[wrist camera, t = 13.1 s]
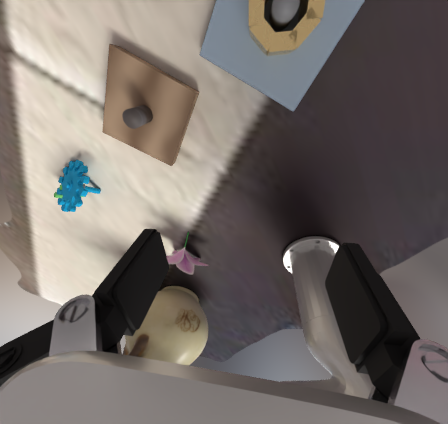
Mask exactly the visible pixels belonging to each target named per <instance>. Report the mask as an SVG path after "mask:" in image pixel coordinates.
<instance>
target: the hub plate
mask: <svg viewBox="0 0 448 424" xmlns="http://www.w3.org/2000/svg"><path fill="white" fill-rule="evenodd" d="M364 1H365V0H325V6H324V12H323V18H321V19H320V20H321V21H320V23H319V24H318V25H317V26H316V27H315V28H314V30H313V31H312V32H311V33H310V34H309V36H308V37H307V38H306V39H305V40H304V41H303V43H302V44H301V45H300V46H299V47H298V48H297V49H296V50H294V51H293V52H291V53H289V54H284V55H273V56H267V54H266V55H265V54H264V53H263V52H262V51H261V50H260V48H259V47H258V46H257V45H256V43H255V42H254V41H253V40H252V38H251V37H250V32H249V0H216V3H215V6H214V10H213V13H212V16H211V19H210V23H209V26H208V29H207V32H206V36H205V39H204V42H203V45H202V48H201V52H200V56H202V57H203V58H205V59H207V60H208V61H210V62H212V63H213V64H215V65H217V66H218V67H220V68H222V69H223V70H225V71H227V72H228V73H230V74H232V75H233V76H235V77H237V78H238V79H240V80H242V81H243V82H245V83H247V84H248V85H250V86H251V87H253V88H255V89H256V90H258V91H260V92H261V93H263V94H265V95H266V96H268V97H270V98H271V99H273V100H275V101H276V102H278V103H280V104H281V105H283V106H285V107H286V108H288V109H290V110H291V111H293V112H294V110H295V109H296V107H297V105H298V104H299V102H300V101H301V99H302V98H303V96H304V95H305V93H306V91H307V90H308V88H309V87H310V85H311V84H312V82H313V80H314V79H315V77H316V76H317V74H318V73H319V71H320V70H321V68H322V66H323V65H324V63H325V62H326V60H327V59H328V57H329V55H330V54H331V52H332V51H333V49H334V48H335V46H336V45H337V43H338V41H339V40H340V38H341V37H342V35H343V34H344V32H345V30H346V29H347V27H348V26H349V24H350V23H351V21H352V19H353V18H354V16H355V15H356V13H357V12H358V10H359V9H360V7H361V5H362V4H363V2H364ZM299 3H300V0H269V1H268V2H267V4H266V5H265V6H264V18H265V20H266V21H267V22H268V24H269V25H270V26H271V28H272V29H273V30H274V32H284V31H292V30H293V29H294V28H295V27H296V25H297V23H298V14H299V5H300V4H299Z"/></svg>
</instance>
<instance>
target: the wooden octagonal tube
mask: <svg viewBox="0 0 448 424" xmlns="http://www.w3.org/2000/svg"><path fill="white" fill-rule="evenodd" d="M268 1H269V0H249V32H250V37H251V38H252V40H253V41H254V42H255V43H256V45H257V46H258V47H259V48H260V50H261V51H262V52H263V53H264V54H265V55H266V54H267V56H273V55H284V54H289V53H291V52H293V51H294V50H296V49H297V48H298V47H299V46H300V45H301V44H302V43H303V41H304V40H305V39H306V38H307V37H308V36H309V34H310V33H311V32H312V31H313V30H314V28H315V27H316V26H317V25H318V24H319V23H320V21H321V20H320V19H321V18H323V12H324V6H325V0H300V3H299V4H300V5H299V14H298V23H297V25H296V27H295V28H294V29H293V30H292V31H284V32H274V30H273V29H272V28H271V26H270V25H269V24H268V22H267V21H266V20H265V18H264V6H265V5H266V4H267V2H268Z"/></svg>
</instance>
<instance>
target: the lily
mask: <svg viewBox="0 0 448 424" xmlns="http://www.w3.org/2000/svg"><path fill="white" fill-rule="evenodd" d="M188 235H189V232H188V233H187V238H186V242H185V246H184V248H183V249H182V250H180V251H176V250H174V251H173V252H172V254H173V255H172V256H166V257H167V260H168V264H176V266H177V267H178V268H179V269H180V270H181V271H183V272H185V273H187V274H190V275H192V274H193V273H194V265H198V266H209V265H207V264H204V263H201V262H199V261H200V260H201V258H192V257H191V256H190V255H189V254H188V253H187V251H186V250H185V248H186V243H187V239H188Z"/></svg>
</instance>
